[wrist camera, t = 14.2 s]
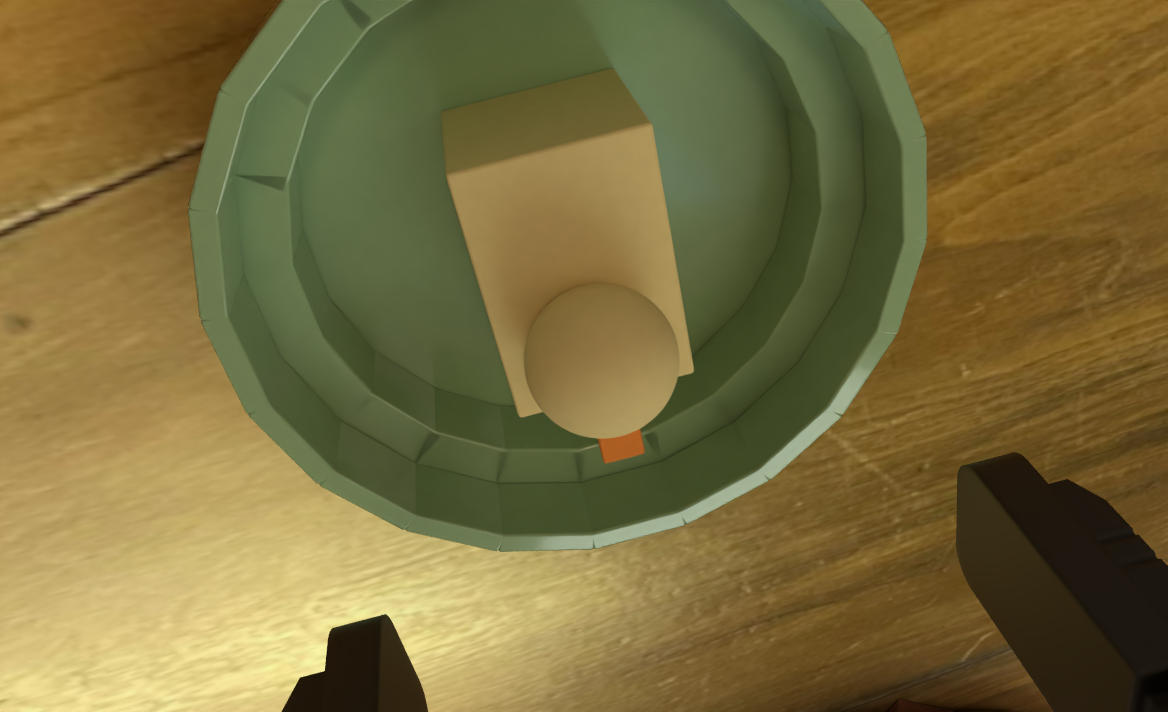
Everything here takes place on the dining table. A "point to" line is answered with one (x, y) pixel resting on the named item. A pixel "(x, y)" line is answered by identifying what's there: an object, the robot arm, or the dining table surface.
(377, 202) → the green bowl
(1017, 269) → the dining table surface
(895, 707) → the chocolate cake
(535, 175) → the duck
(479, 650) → the dining table surface
